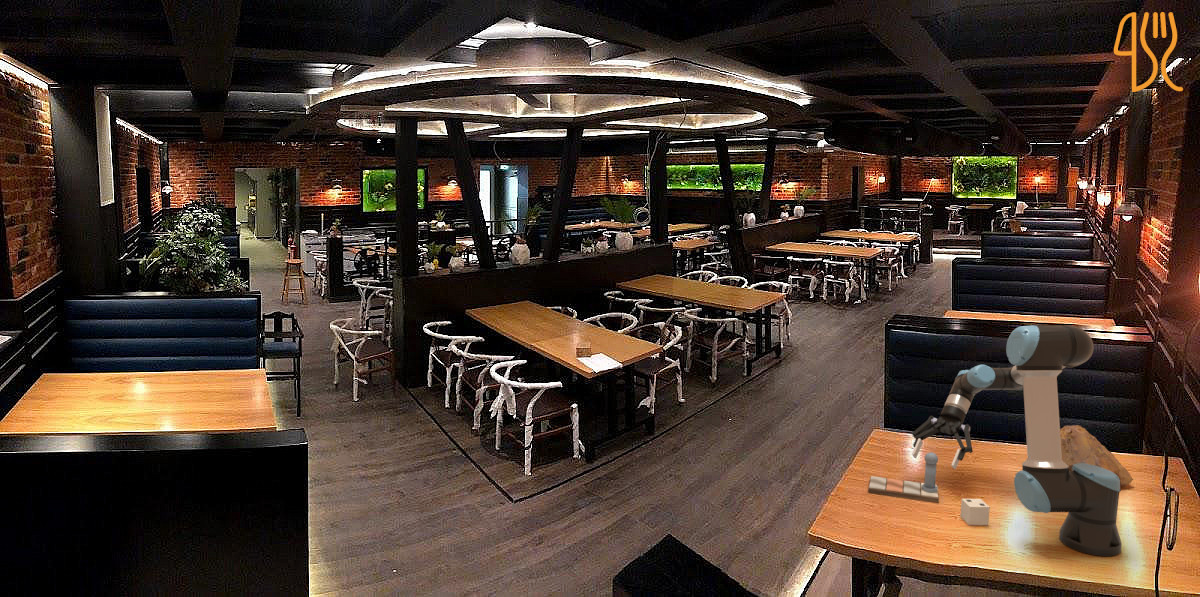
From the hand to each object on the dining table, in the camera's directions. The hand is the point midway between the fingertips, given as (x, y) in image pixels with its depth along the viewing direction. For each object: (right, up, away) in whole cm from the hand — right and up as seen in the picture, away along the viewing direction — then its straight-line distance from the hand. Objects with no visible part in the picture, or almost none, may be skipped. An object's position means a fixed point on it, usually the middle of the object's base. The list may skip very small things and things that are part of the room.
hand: (933, 461), depth 250 cm
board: (-10, -11, +2) cm, 14 cm away
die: (+3, -14, -21) cm, 25 cm away
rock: (+63, -8, +14) cm, 65 cm away
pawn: (-2, -9, -2) cm, 10 cm away
